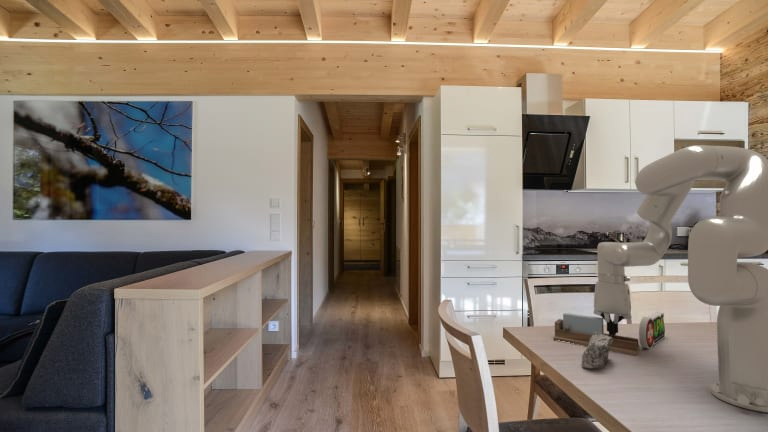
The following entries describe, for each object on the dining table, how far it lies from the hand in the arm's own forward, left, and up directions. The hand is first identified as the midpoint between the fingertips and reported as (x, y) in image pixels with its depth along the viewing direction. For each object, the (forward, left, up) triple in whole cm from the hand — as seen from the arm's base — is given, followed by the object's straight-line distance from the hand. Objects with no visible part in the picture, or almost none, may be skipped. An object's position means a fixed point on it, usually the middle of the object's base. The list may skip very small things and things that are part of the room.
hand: (612, 334), depth 119 cm
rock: (-20, +1, -5) cm, 21 cm away
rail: (0, +5, -4) cm, 7 cm away
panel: (0, +9, -3) cm, 9 cm away
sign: (+13, -10, -5) cm, 17 cm away
